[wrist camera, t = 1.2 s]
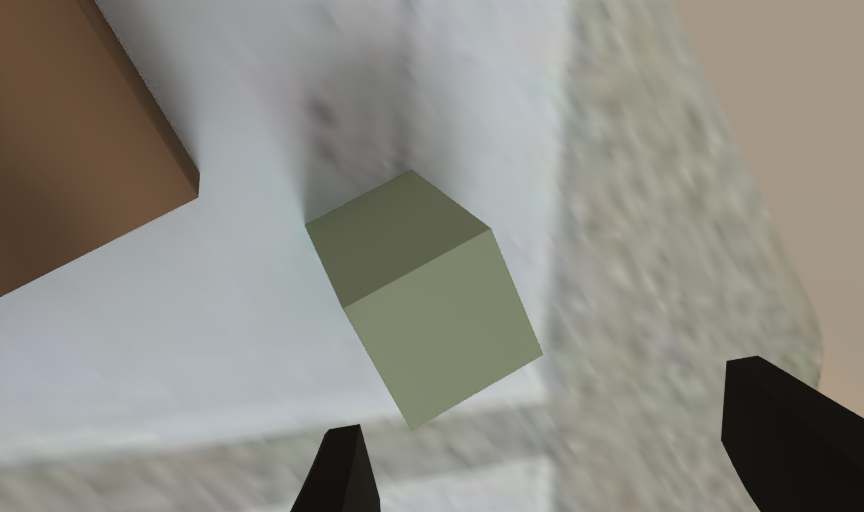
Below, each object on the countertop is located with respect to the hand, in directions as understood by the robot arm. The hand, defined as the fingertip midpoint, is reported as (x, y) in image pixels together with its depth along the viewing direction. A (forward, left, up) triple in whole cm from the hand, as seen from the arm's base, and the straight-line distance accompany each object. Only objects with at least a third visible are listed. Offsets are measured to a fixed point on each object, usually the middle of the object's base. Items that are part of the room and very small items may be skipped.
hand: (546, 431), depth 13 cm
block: (0, 0, -11) cm, 11 cm away
